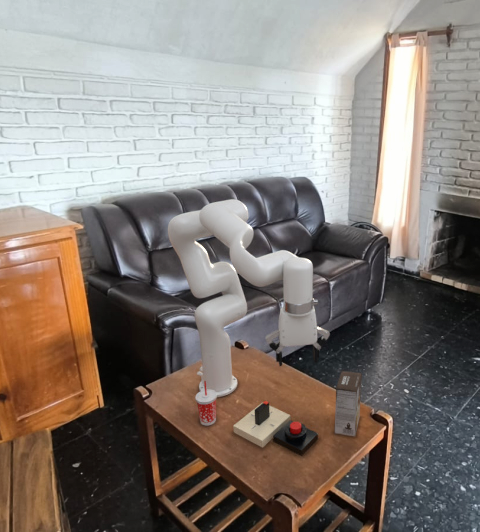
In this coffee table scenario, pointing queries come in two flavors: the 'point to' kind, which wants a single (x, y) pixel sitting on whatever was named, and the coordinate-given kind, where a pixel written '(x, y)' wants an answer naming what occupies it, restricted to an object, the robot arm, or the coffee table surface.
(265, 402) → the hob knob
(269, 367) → the coffee table surface
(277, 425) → the panel
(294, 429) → the power button
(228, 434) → the coffee table surface
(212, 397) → the beverage cup
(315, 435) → the power box
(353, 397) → the coffee box
